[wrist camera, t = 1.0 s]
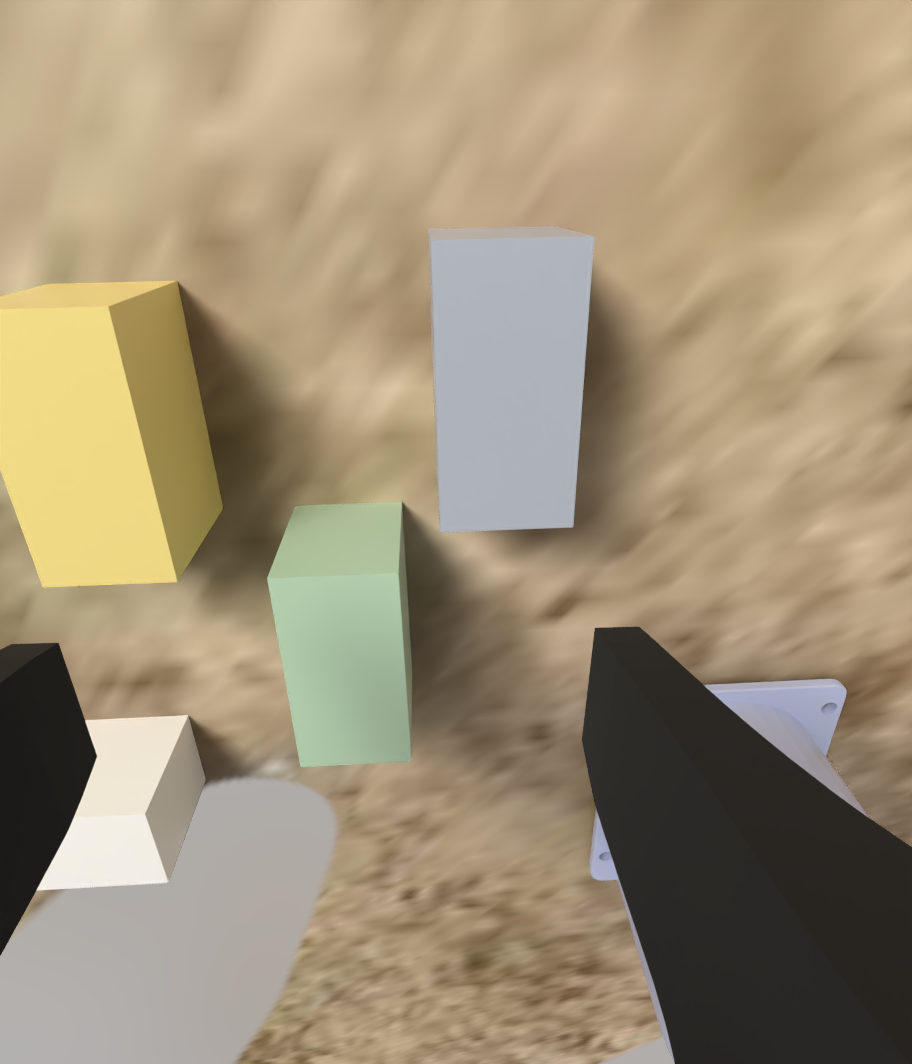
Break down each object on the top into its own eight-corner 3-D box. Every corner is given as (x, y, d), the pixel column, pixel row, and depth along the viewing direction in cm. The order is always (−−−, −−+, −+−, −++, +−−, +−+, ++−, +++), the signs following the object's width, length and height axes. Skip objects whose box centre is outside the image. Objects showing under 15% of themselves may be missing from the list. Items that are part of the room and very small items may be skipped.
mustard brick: (223, 507, 18) (177, 582, 15) (115, 510, 18) (43, 587, 15) (178, 280, 16) (107, 306, 12) (50, 283, 16) (-58, 310, 12)
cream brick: (189, 712, 22) (144, 814, 18) (206, 777, 23) (168, 882, 20) (4, 722, 22) (-76, 826, 18) (33, 786, 23) (-37, 894, 20)
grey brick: (543, 462, 18) (572, 527, 15) (435, 466, 18) (440, 532, 15) (554, 225, 16) (593, 235, 12) (427, 228, 15) (431, 240, 12)
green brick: (412, 666, 21) (411, 760, 18) (319, 671, 21) (300, 767, 18) (401, 500, 19) (398, 572, 15) (295, 504, 19) (267, 578, 15)
